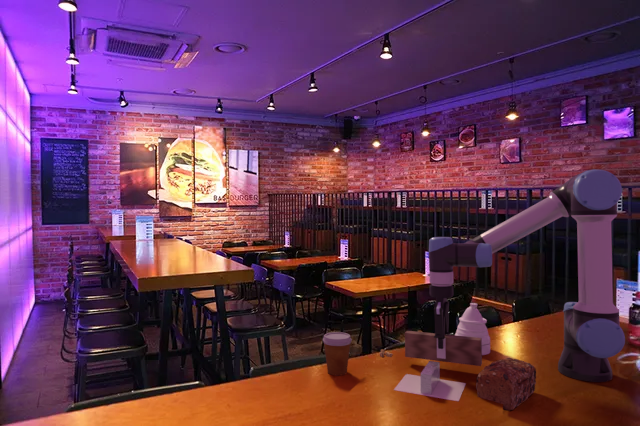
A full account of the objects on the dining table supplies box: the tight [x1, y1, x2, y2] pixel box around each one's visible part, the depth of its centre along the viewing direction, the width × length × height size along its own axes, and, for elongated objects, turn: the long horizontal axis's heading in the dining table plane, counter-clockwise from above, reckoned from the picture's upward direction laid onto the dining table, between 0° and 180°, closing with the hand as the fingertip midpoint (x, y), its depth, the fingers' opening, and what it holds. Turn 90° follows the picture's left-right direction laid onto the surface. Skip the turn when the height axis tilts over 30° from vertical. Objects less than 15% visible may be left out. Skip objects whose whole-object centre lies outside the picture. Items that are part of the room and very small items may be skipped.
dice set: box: [379, 349, 394, 358], centre depth 163 cm, size 5×5×2 cm
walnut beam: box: [404, 330, 483, 367], centre depth 146 cm, size 24×3×8 cm, turn 64°
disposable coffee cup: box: [322, 331, 353, 376], centre depth 147 cm, size 10×10×12 cm
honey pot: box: [454, 302, 491, 356], centre depth 170 cm, size 13×13×18 cm
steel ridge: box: [420, 360, 441, 395], centre depth 130 cm, size 3×12×6 cm, turn 154°
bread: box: [475, 357, 537, 412], centre depth 127 cm, size 19×11×10 cm, turn 136°
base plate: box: [393, 373, 467, 402], centre depth 130 cm, size 18×14×2 cm
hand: (442, 356), depth 146 cm, fingers closed on walnut beam, 3 cm apart
